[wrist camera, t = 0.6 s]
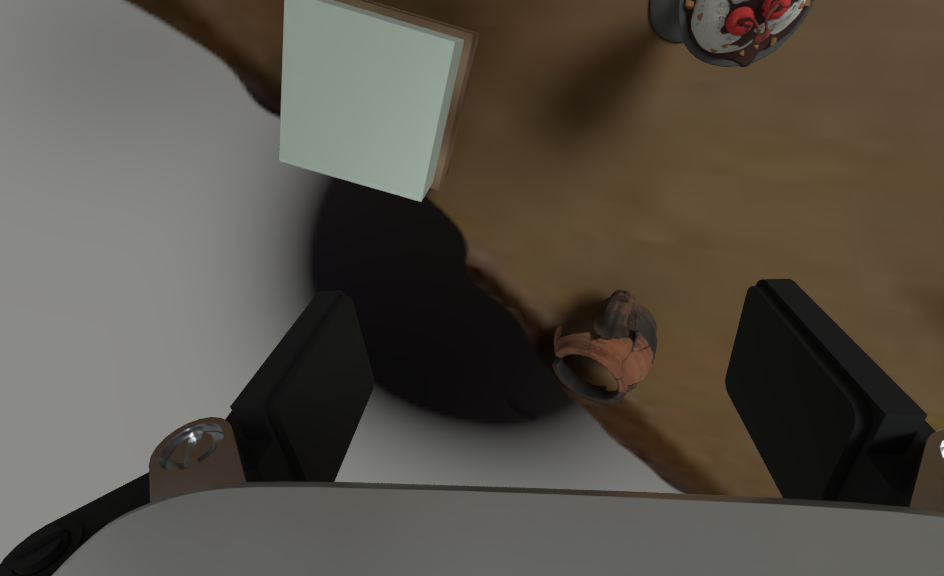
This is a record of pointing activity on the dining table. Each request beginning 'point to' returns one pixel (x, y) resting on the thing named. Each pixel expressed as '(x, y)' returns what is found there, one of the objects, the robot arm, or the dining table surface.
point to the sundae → (728, 27)
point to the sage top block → (364, 95)
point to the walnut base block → (462, 76)
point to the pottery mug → (610, 348)
